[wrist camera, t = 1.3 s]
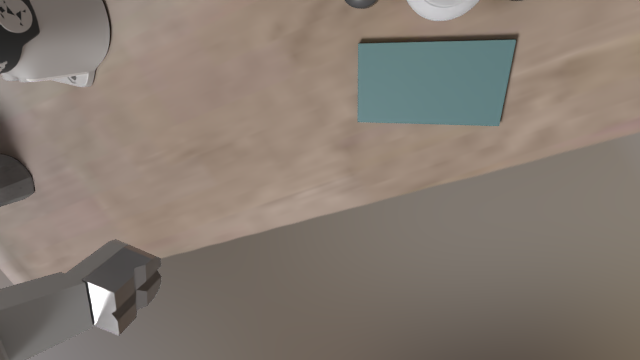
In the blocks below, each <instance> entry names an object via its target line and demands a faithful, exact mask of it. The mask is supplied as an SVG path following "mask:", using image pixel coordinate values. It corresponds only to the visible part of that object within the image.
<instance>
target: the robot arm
mask: <svg viewBox="0 0 640 360" xmlns="http://www.w3.org/2000/svg"><path fill="white" fill-rule="evenodd" d="M109 41H110V28H109V21H108V16H107V13H106V9H105V6H104V4H103V1H102V0H0V74H1V75H2V78H3V79H4V80H7V81H20V82H36V81H43V80H53V81H58V82H62V83H66V84H70V85H74V86H79V87H89V86H91V85H92V83H93V80H94V75H95V70H96V68H97V67H98V65H99V64H100V63H101V62H102V61H103V59H104V58H105V56H106V53H107V51H108V47H109ZM160 267H161V258H159V257H156V256H154V255H152V254H149V253H147V252H145V251H142V250H140V249H138V248H135V247H133V246H131V245H128V244H126V243H124V242H121V241H119V240H116V239H115V240H112V241H109V242H108V243H106V244H105V245H103V246H102V247H101V248H99V249H98V250H97V251H95V252H94V253H93V254H91V255H90V256H88V257H87V258H86V259H84V260H83V261H82V262H80V263H79V264H78V265H76V266H75V267H73V268H72V269H71V270H69V271H68V272H67V273H65V274H64V273H62V272H59V273H55V274H52V275H48V276H45V277H41V278H38V279H34V280H31V281H27V282H24V283H20V284H16V285H13V286H10V287H6V288H3V289H0V360H26V359H29V358H31V357H33V356H35V355H37V354H39V353H41V352H43V351H45V350H47V349H49V348H51V347H53V346H55V345H58V344H59V343H62V342H64V341H66V340H68V339H70V338H72V337H74V336H76V335H78V334H80V333H82V332H84V331H86V330H88V329H90V328H92V327H93V325H94V326H96V327H99V328H101V329H104V330H106V331H109V332H111V333H114V334H116V335H120V334H121V333H122V332H123V331H124V330H125V329H126V328H127V327H128V326H129V325H130V324H131V323H132V322H133V321H134V320H135V318H136V317H137V310H138V309H140V308H143V307H145V306H148V304H149V303H150V302H151V301H152V300H153V299H154V298H155V296H156V294H157V292H158V291H159V289H160V285H161V275H160V274H159V272H158V269H159V268H160Z"/></svg>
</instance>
